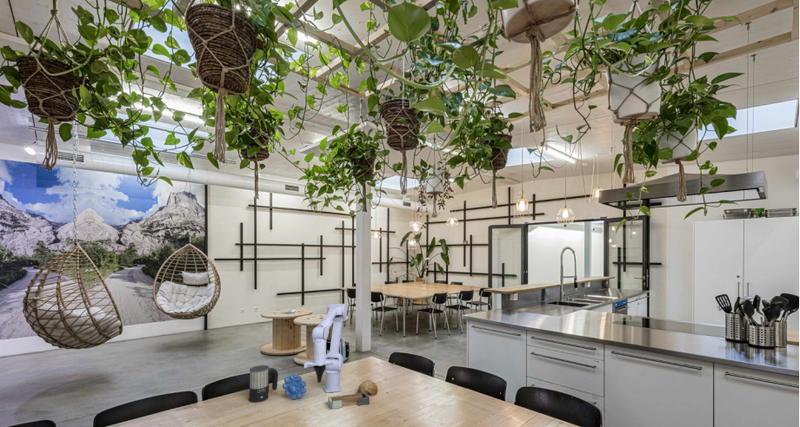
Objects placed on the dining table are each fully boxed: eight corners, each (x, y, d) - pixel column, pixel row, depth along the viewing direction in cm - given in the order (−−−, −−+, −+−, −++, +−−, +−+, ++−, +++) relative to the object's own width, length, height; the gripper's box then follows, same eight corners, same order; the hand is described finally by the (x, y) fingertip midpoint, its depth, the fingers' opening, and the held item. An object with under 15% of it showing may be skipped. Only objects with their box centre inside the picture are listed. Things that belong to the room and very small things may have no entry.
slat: (331, 405, 176) (331, 396, 176) (360, 401, 181) (360, 393, 181) (332, 408, 173) (332, 399, 173) (362, 404, 178) (362, 395, 178)
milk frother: (255, 404, 177) (257, 372, 178) (236, 397, 185) (237, 366, 187) (280, 394, 188) (281, 364, 190) (261, 388, 197) (262, 359, 198)
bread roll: (358, 403, 186) (360, 391, 184) (356, 388, 196) (357, 376, 193) (378, 401, 189) (379, 389, 186) (374, 386, 198) (376, 374, 196)
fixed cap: (355, 400, 182) (355, 394, 182) (366, 399, 183) (366, 392, 184) (358, 405, 175) (358, 399, 176) (369, 404, 177) (369, 397, 177)
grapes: (279, 403, 178) (280, 377, 179) (283, 397, 184) (283, 372, 186) (304, 402, 179) (305, 376, 180) (307, 397, 185) (307, 372, 187)
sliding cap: (328, 403, 177) (328, 396, 178) (339, 402, 179) (339, 395, 179) (330, 409, 171) (330, 402, 171) (341, 407, 173) (341, 400, 173)
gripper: (305, 356, 173) (304, 386, 172) (336, 353, 177) (335, 382, 176) (303, 352, 179) (303, 381, 178) (334, 349, 184) (333, 378, 183)
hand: (319, 381), depth 178 cm, fingers closed
